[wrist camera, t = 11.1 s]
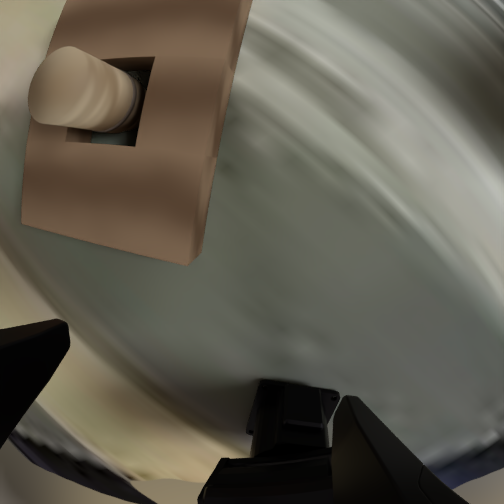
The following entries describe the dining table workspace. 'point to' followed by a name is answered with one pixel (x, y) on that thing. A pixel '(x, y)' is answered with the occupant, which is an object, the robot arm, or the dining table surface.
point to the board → (140, 128)
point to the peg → (85, 93)
